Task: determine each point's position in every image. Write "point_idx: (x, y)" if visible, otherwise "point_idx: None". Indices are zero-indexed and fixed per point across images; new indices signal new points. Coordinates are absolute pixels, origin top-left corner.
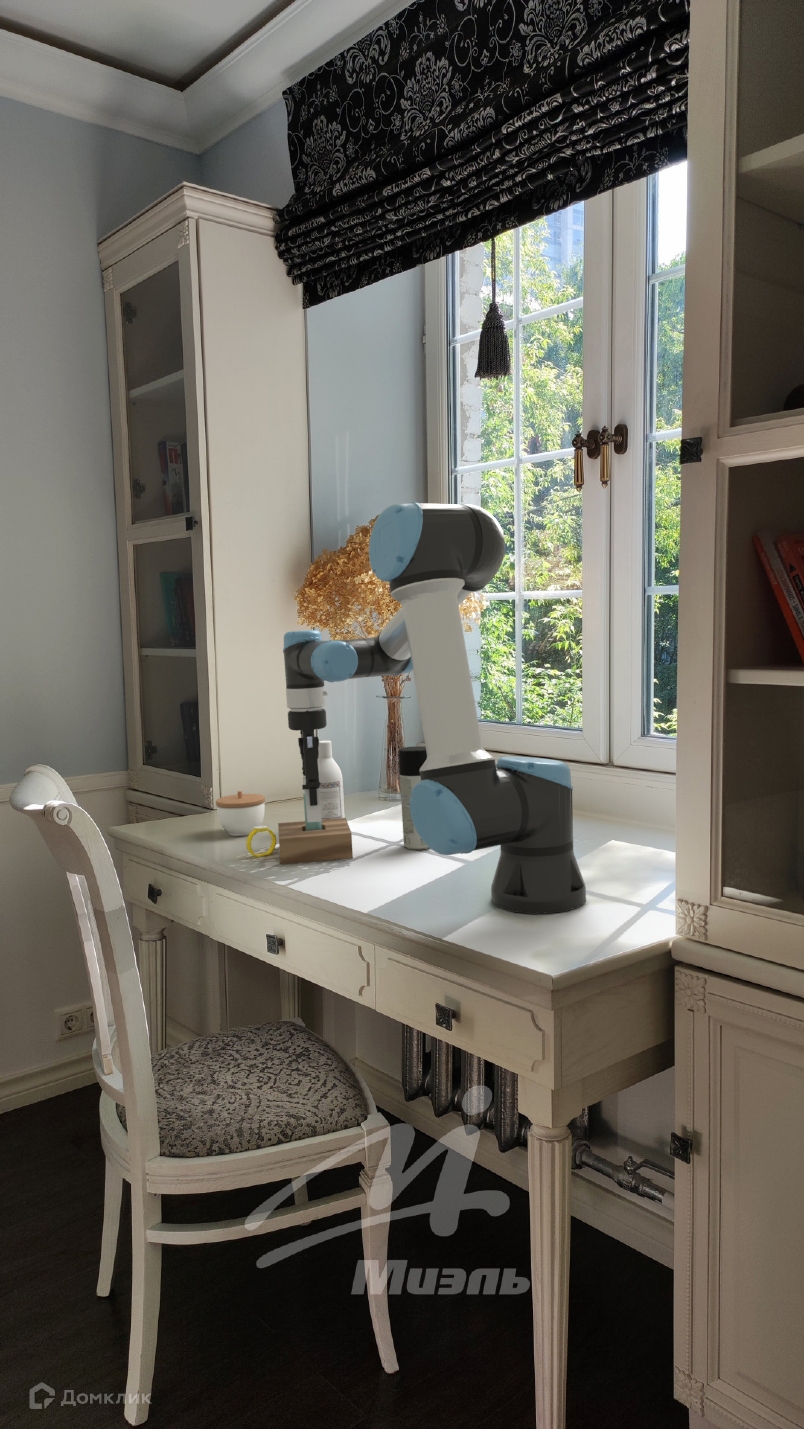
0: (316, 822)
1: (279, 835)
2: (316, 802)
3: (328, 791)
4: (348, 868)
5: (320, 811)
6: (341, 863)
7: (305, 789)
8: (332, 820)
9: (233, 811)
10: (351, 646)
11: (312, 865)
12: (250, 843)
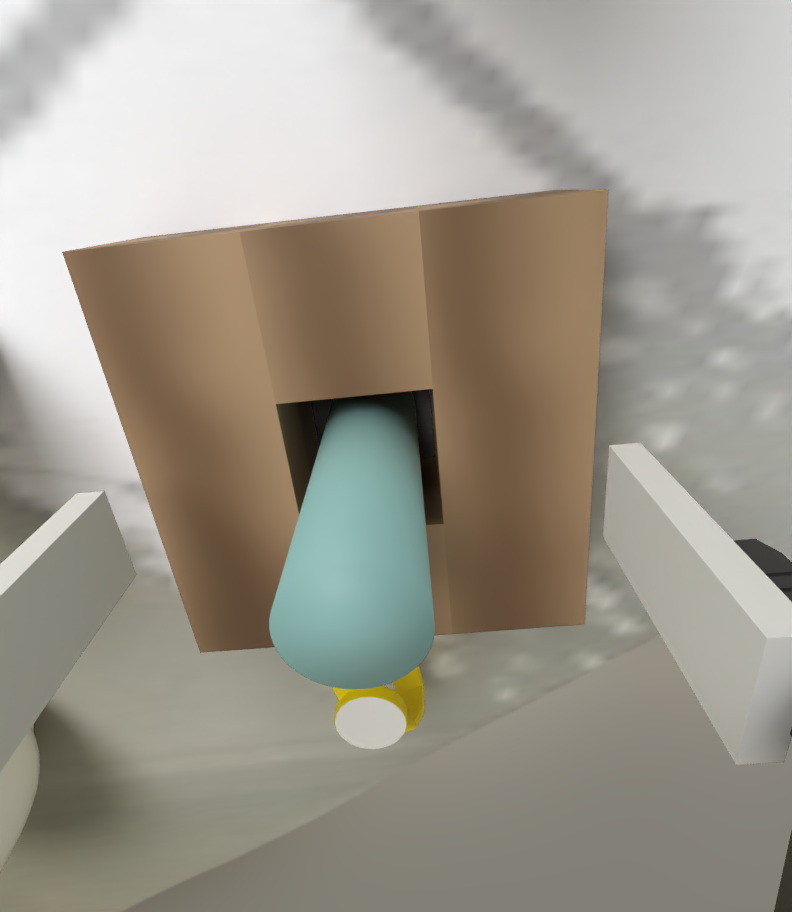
0: (417, 466)
1: (510, 626)
2: (786, 564)
3: None
4: (772, 212)
5: (674, 483)
6: (647, 257)
7: (757, 756)
8: (150, 353)
9: (4, 846)
10: None
11: (626, 407)
12: (422, 701)
